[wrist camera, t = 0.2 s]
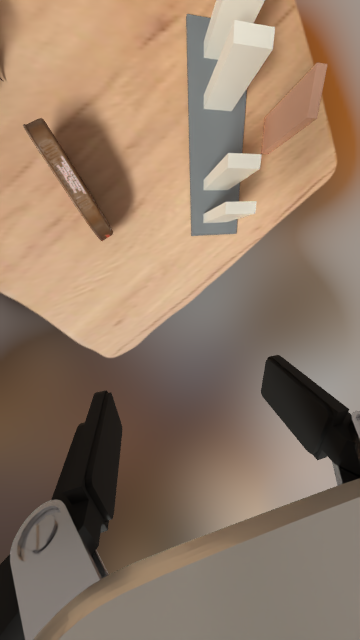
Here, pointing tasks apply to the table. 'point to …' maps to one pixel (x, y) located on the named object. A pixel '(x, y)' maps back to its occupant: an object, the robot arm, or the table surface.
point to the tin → (68, 177)
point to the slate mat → (208, 134)
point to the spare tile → (294, 109)
